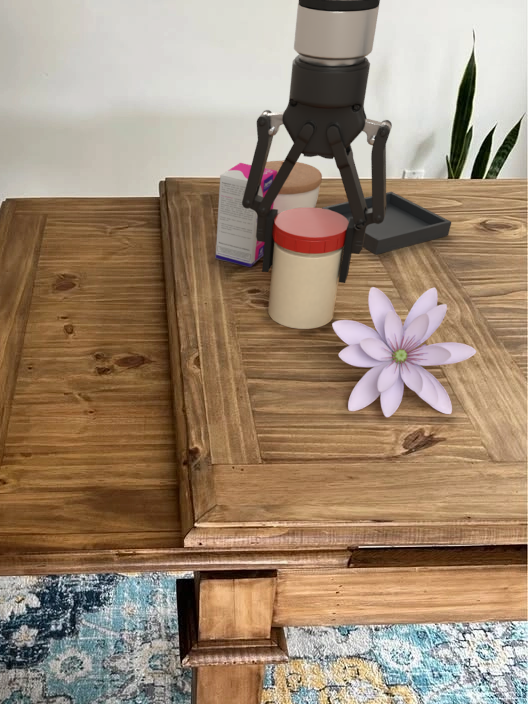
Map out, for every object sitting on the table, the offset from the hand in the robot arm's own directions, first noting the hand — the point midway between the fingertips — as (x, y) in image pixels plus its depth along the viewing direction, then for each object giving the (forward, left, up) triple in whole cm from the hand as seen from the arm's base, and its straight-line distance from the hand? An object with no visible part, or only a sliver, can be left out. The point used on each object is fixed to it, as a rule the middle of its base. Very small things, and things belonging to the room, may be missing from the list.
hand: (305, 272), depth 87 cm
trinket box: (+23, -12, -6) cm, 27 cm away
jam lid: (0, 0, +6) cm, 6 cm away
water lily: (-19, +2, -6) cm, 20 cm away
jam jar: (0, 0, -5) cm, 5 cm away
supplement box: (+17, -2, -6) cm, 18 cm away
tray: (+15, -25, -5) cm, 30 cm away
